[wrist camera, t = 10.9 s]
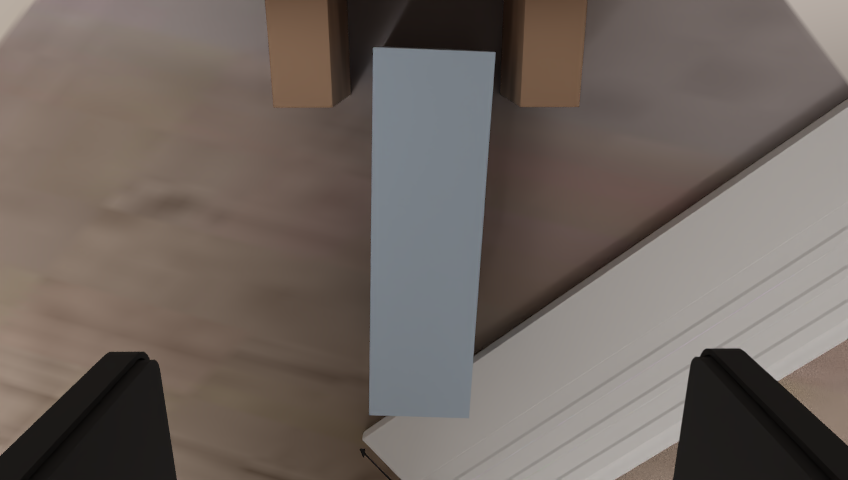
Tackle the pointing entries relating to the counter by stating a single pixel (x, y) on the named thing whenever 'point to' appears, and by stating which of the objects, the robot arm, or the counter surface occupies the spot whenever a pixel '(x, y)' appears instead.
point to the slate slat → (426, 226)
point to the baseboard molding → (653, 329)
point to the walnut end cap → (520, 64)
